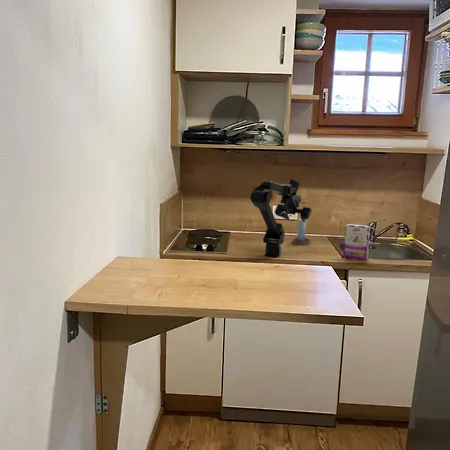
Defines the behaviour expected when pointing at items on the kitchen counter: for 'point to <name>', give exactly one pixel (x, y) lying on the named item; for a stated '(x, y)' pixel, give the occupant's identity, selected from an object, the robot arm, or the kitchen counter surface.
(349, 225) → the candy bar box
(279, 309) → the kitchen counter surface
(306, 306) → the kitchen counter surface
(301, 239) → the bead jar
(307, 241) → the walnut tray
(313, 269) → the kitchen counter surface
